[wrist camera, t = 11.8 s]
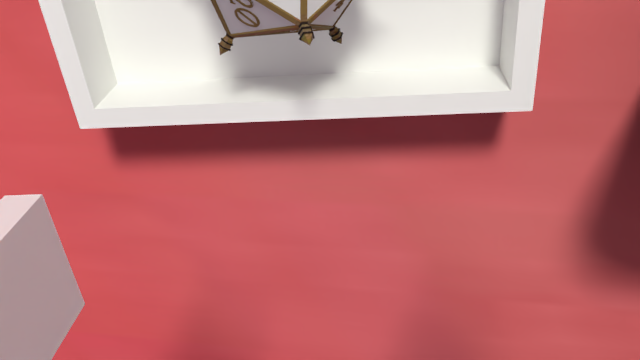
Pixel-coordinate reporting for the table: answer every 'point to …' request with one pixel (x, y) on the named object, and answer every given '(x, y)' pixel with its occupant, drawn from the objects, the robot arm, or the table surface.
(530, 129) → the table surface
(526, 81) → the sorting tray
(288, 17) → the game die
